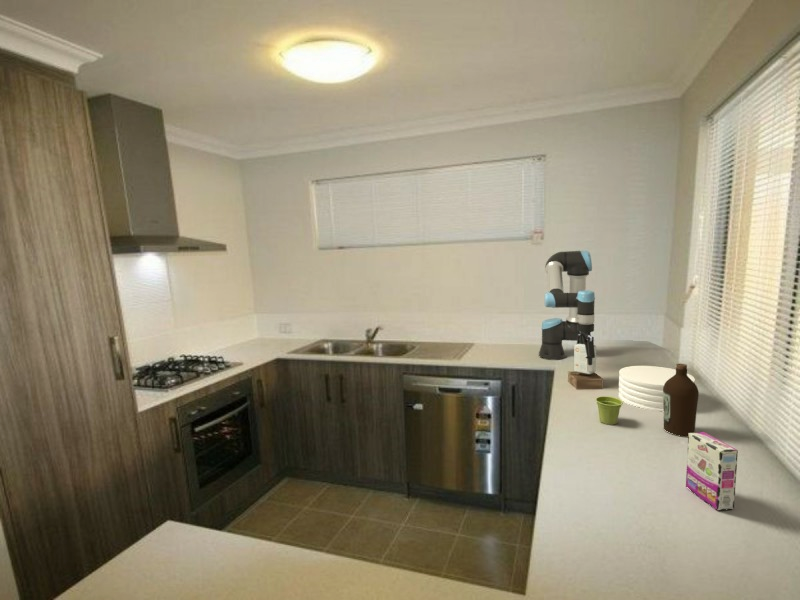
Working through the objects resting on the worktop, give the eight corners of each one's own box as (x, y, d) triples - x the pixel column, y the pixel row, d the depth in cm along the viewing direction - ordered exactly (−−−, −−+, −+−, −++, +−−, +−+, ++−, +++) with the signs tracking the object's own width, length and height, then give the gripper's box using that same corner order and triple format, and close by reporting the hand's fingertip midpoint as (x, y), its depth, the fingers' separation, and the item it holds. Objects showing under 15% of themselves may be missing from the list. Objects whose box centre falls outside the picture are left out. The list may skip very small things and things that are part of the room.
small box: (596, 371, 203) (596, 345, 201) (589, 374, 199) (590, 347, 197) (580, 368, 209) (580, 342, 207) (573, 371, 205) (573, 345, 203)
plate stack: (698, 397, 183) (700, 372, 182) (687, 418, 163) (688, 390, 162) (628, 385, 202) (629, 362, 201) (610, 402, 182) (610, 377, 181)
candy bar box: (735, 510, 108) (739, 449, 106) (717, 511, 107) (721, 451, 105) (701, 485, 119) (704, 430, 117) (684, 487, 118) (687, 432, 116)
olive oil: (692, 427, 155) (695, 361, 152) (700, 439, 146) (704, 369, 142) (658, 423, 159) (661, 359, 156) (664, 435, 149) (667, 367, 146)
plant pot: (619, 418, 165) (620, 397, 164) (624, 428, 157) (624, 406, 156) (594, 416, 169) (594, 395, 167) (596, 425, 160) (597, 403, 159)
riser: (567, 381, 211) (567, 371, 211) (592, 380, 211) (592, 371, 210) (576, 389, 199) (576, 379, 198) (603, 389, 198) (603, 378, 198)
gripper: (569, 319, 212) (569, 361, 215) (586, 327, 190) (585, 375, 193) (584, 318, 212) (584, 361, 215) (603, 327, 190) (602, 374, 192)
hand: (584, 367), depth 204 cm, fingers closed on small box, 10 cm apart
